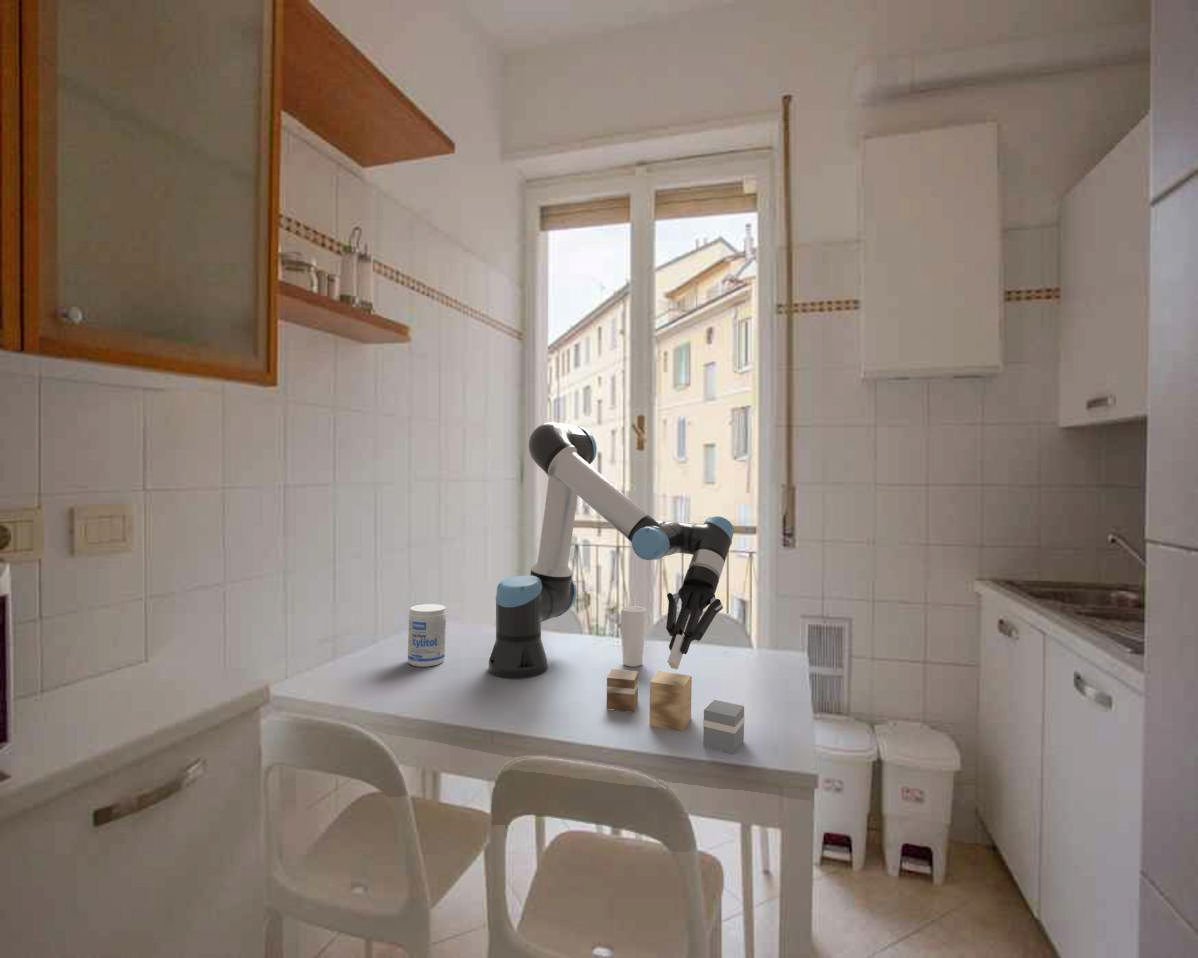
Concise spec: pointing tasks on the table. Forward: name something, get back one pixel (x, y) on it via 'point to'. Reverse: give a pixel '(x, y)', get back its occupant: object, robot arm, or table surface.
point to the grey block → (723, 726)
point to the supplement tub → (426, 635)
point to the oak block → (670, 700)
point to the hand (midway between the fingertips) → (672, 665)
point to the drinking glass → (633, 634)
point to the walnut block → (622, 690)
